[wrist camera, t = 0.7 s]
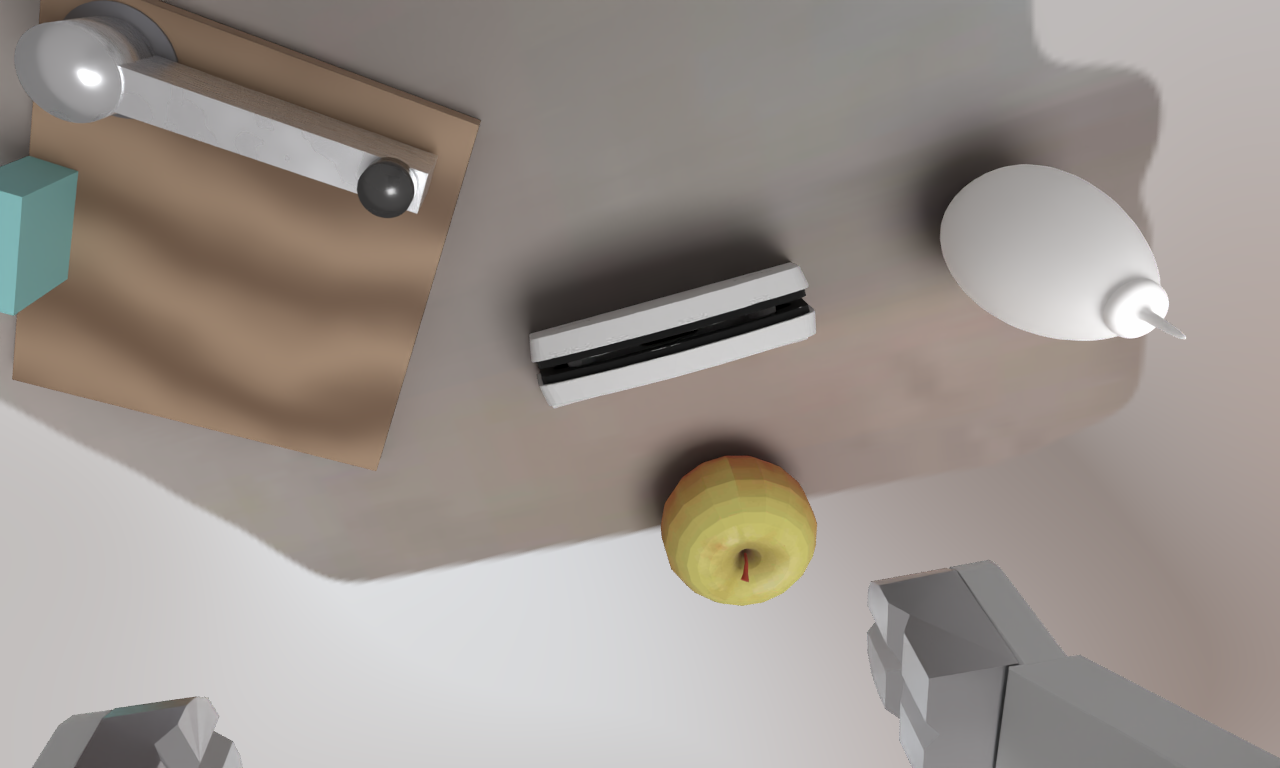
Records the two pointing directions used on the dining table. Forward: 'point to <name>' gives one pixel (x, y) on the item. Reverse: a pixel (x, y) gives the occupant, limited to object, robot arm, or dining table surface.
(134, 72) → the lock bar
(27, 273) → the block
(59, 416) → the dining table surface
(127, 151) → the wooden cutting board
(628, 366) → the white slotted block
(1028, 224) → the white tall oval piece
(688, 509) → the apple
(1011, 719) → the robot arm
